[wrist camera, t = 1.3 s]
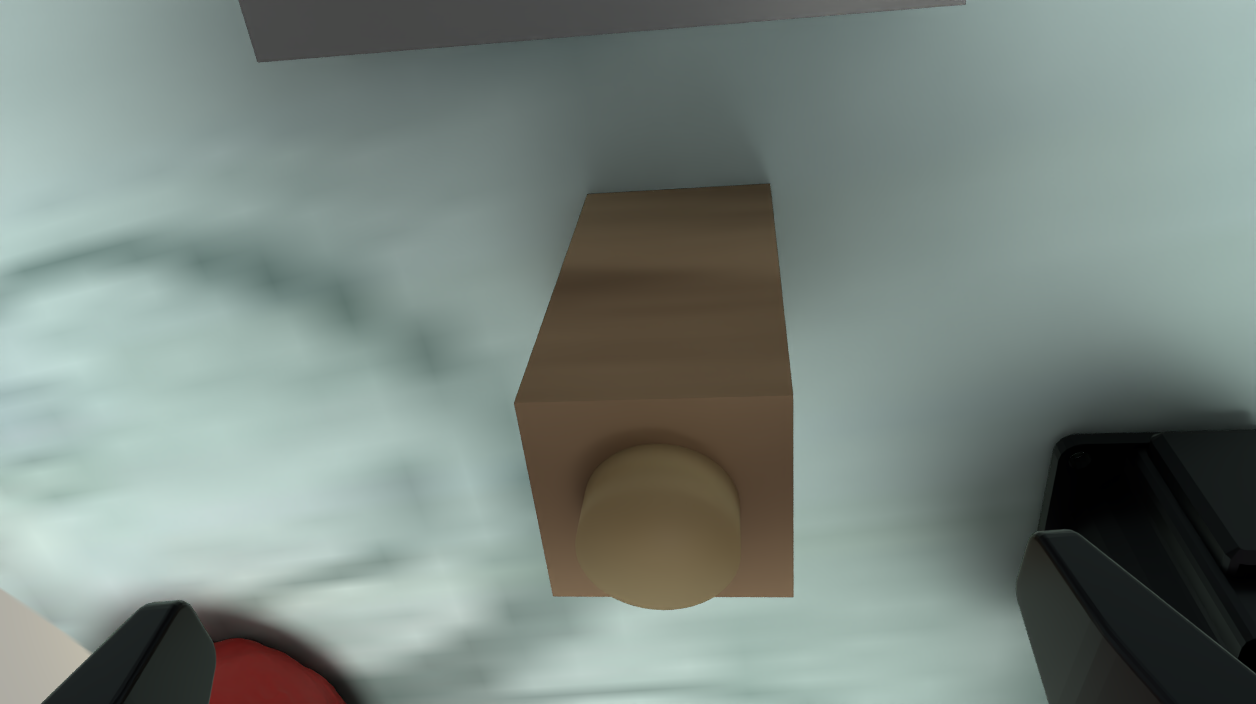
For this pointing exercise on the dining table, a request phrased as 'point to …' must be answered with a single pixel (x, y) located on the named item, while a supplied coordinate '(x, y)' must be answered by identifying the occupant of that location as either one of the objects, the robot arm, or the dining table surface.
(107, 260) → the dining table surface
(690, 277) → the walnut plug
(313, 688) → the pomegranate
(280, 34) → the socket block
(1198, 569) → the robot arm
